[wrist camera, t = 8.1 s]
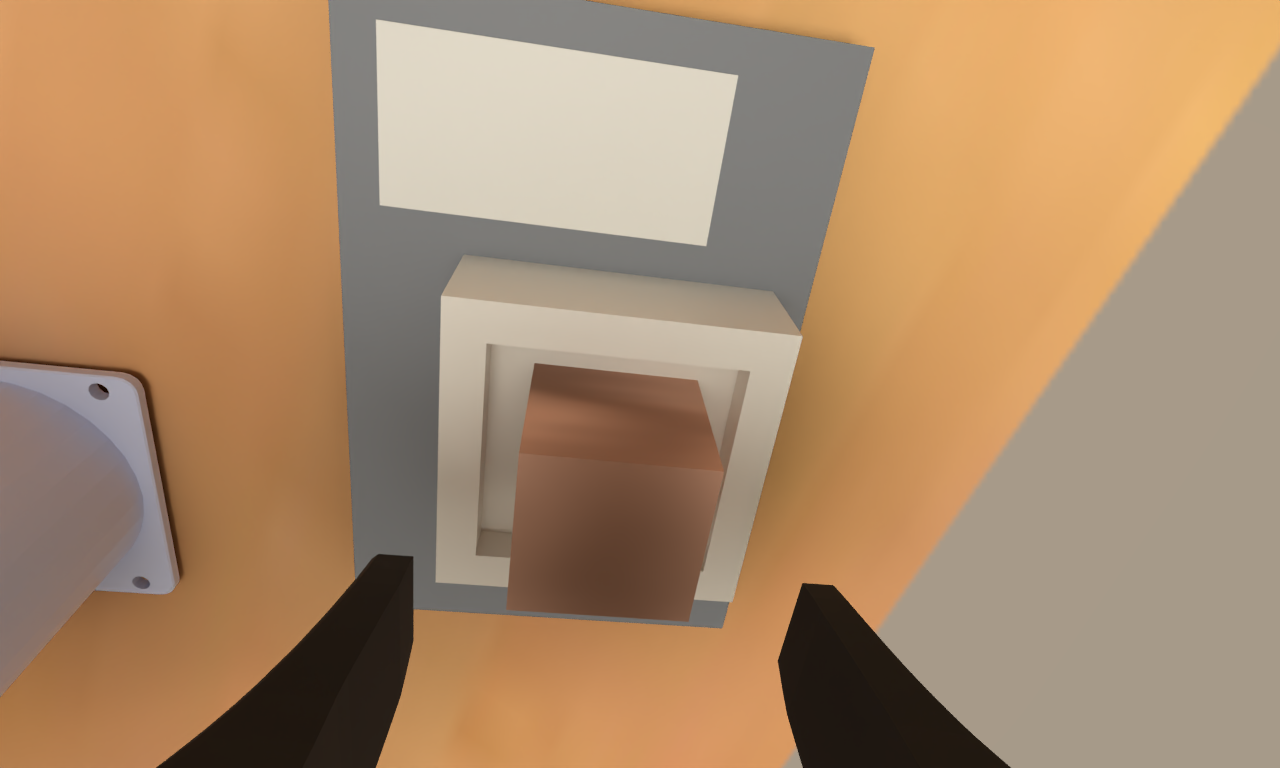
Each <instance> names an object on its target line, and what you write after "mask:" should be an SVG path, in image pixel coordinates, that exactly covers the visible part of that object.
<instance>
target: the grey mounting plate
mask: <svg viewBox="0 0 1280 768" xmlns="http://www.w3.org/2000/svg"><path fill="white" fill-rule="evenodd" d="M328 1H329V23H330V44H331V66H332V88H333V109H334V131H335V152H336V174H337V196H338V217H339V239H340V260H341V282H342V304H343V325H344V347H345V368H346V390H347V412H348V433H349V455H350V476H351V498H352V520H353V541H354V563H355V579H356V578H357V577H358V576H359V574H360V573H361V572H362V571H363V569H364V568H365V567H366V565H367V564H368V563H369V562H370V560H371V559H372V558H373V557H375V556H376V555H377V554H387V555H402V556H413V609H420V610H436V611H452V612H468V613H484V614H500V615H516V616H532V617H548V618H564V619H580V620H596V621H613V622H629V623H645V624H661V625H677V626H693V627H709V628H722V627H723V623H724V620H725V616H726V612H727V608H728V604H729V602H722V601H707V600H694V601H693V605H692V609H691V614H690V618H689V622H684V621H668V620H653V619H637V618H622V617H606V616H591V615H576V614H560V613H545V612H529V611H514V610H506V604H507V592H508V587H497V586H482V585H467V584H452V583H437V582H436V532H437V480H438V428H439V375H440V323H441V295H442V293H443V291H444V289H445V288H446V286H447V284H448V282H449V280H450V279H451V277H452V275H453V273H454V271H455V270H456V268H457V266H458V264H459V262H460V261H461V259H462V257H463V255H472V256H481V257H489V258H497V259H506V260H514V261H522V262H531V263H539V264H548V265H556V266H564V267H573V268H581V269H589V270H598V271H606V272H615V273H623V274H631V275H640V276H648V277H656V278H665V279H673V280H682V281H690V282H698V283H707V284H715V285H724V286H732V287H740V288H749V289H757V290H765V291H773V292H774V294H775V295H776V297H777V298H778V300H779V301H780V303H781V304H782V306H783V307H784V309H785V310H786V312H787V313H788V315H789V316H790V318H791V319H792V321H793V322H794V324H795V325H796V327H797V328H798V330H799V331H800V330H801V326H802V323H803V319H804V315H805V311H806V307H807V304H808V300H809V296H810V292H811V288H812V285H813V281H814V277H815V273H816V269H817V266H818V262H819V258H820V254H821V250H822V246H823V243H824V239H825V235H826V231H827V227H828V224H829V220H830V216H831V212H832V208H833V205H834V201H835V197H836V193H837V189H838V186H839V182H840V178H841V174H842V170H843V167H844V163H845V159H846V155H847V151H848V147H849V144H850V140H851V136H852V132H853V128H854V125H855V121H856V117H857V113H858V109H859V106H860V102H861V98H862V94H863V90H864V87H865V83H866V79H867V75H868V71H869V68H870V64H871V60H872V56H873V52H874V47H867V46H861V45H855V44H849V43H843V42H837V41H831V40H824V39H818V38H812V37H806V36H800V35H794V34H788V33H782V32H775V31H769V30H763V29H757V28H751V27H745V26H739V25H732V24H726V23H720V22H714V21H708V20H702V19H696V18H690V17H683V16H677V15H671V14H665V13H659V12H653V11H647V10H640V9H634V8H628V7H622V6H616V5H610V4H604V3H598V2H591V1H585V0H328Z"/></svg>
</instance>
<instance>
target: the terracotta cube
mask: <svg viewBox="0 0 1280 768" xmlns="http://www.w3.org/2000/svg"><path fill="white" fill-rule="evenodd" d="M723 474H724V470H723V466H722V463H721V459H720V456H719V452H718V449H717V446H716V442H715V439H714V435H713V432H712V428H711V425H710V421H709V418H708V414H707V411H706V407H705V404H704V401H703V397H702V394H701V390H700V387H699V383H698V380H691V379H681V378H672V377H662V376H653V375H643V374H634V373H624V372H615V371H605V370H596V369H586V368H577V367H567V366H558V365H548V364H539V363H534V369H533V374H532V380H531V386H530V392H529V397H528V403H527V409H526V415H525V420H524V426H523V432H522V438H521V444H520V449H519V457H518V470H517V482H516V494H515V506H514V519H513V531H512V543H511V555H510V568H509V580H508V592H507V604H506V610H514V611H529V612H545V613H560V614H576V615H591V616H606V617H622V618H637V619H653V620H668V621H684V622H689V618H690V614H691V609H692V605H693V601H694V597H695V593H696V588H697V584H698V580H699V576H700V571H701V567H702V563H703V559H704V554H705V550H706V546H707V542H708V538H709V533H710V529H711V525H712V521H713V516H714V512H715V508H716V504H717V499H718V495H719V491H720V487H721V482H722V478H723Z"/></svg>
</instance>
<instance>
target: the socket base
mask: <svg viewBox="0 0 1280 768" xmlns="http://www.w3.org/2000/svg"><path fill="white" fill-rule="evenodd" d="M802 338H803V336H802V334H801V333H800V331H799V330H798V328H797V327H796V325H795V324H794V322H793V321H792V319H791V318H790V316H789V315H788V313H787V312H786V310H785V309H784V307H783V306H782V304H781V303H780V301H779V300H778V298H777V297H776V295H775V294H774V292H773V291H765V290H757V289H749V288H740V287H732V286H724V285H715V284H707V283H698V282H690V281H682V280H673V279H665V278H656V277H648V276H640V275H631V274H623V273H615V272H606V271H598V270H589V269H581V268H573V267H564V266H556V265H548V264H539V263H531V262H522V261H514V260H506V259H497V258H489V257H481V256H472V255H463V257H462V259H461V261H460V262H459V264H458V266H457V268H456V270H455V271H454V273H453V275H452V277H451V279H450V280H449V282H448V284H447V286H446V288H445V289H444V291H443V293H442V295H441V323H440V375H439V428H438V480H437V532H436V582H437V583H452V584H467V585H482V586H497V587H508V580H509V568H510V555H511V543H512V531H513V519H514V506H515V494H516V482H517V470H518V457H519V449H520V444H521V438H522V432H523V426H524V420H525V415H526V409H527V403H528V397H529V392H530V386H531V380H532V374H533V369H534V363H539V364H548V365H558V366H567V367H577V368H586V369H596V370H605V371H615V372H624V373H634V374H643V375H653V376H662V377H672V378H681V379H691V380H698V383H699V387H700V390H701V394H702V397H703V401H704V404H705V407H706V411H707V414H708V418H709V421H710V425H711V428H712V432H713V435H714V439H715V442H716V446H717V449H718V452H719V456H720V459H721V463H722V466H723V470H724V474H723V478H722V482H721V487H720V491H719V495H718V499H717V504H716V508H715V512H714V516H713V521H712V525H711V529H710V533H709V538H708V542H707V546H706V550H705V554H704V559H703V563H702V567H701V571H700V576H699V580H698V584H697V588H696V593H695V597H694V600H707V601H722V602H732V601H733V598H734V594H735V590H736V586H737V583H738V579H739V575H740V571H741V568H742V564H743V560H744V556H745V552H746V549H747V545H748V541H749V537H750V534H751V530H752V526H753V522H754V519H755V515H756V511H757V507H758V503H759V500H760V496H761V492H762V488H763V485H764V481H765V477H766V473H767V470H768V466H769V462H770V458H771V454H772V451H773V447H774V443H775V439H776V436H777V432H778V428H779V424H780V421H781V417H782V413H783V409H784V405H785V402H786V398H787V394H788V390H789V387H790V383H791V379H792V375H793V372H794V368H795V364H796V360H797V356H798V353H799V349H800V345H801V341H802Z"/></svg>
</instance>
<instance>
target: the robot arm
mask: <svg viewBox="0 0 1280 768" xmlns="http://www.w3.org/2000/svg"><path fill="white" fill-rule="evenodd" d="M97 383H98V384H101V385H103V386H104V387H106V388H107V390H108V391H109V393H105V392H103V391H102V390H101V389H99V387H98V385H97ZM142 577H144V578H146V579H147V580H145V579H143V578H142ZM179 578H180V577H179V572H178V566H177V561H176V556H175V550H174V545H173V540H172V535H171V529H170V524H169V519H168V513H167V508H166V503H165V498H164V492H163V487H162V482H161V476H160V471H159V466H158V460H157V455H156V450H155V445H154V439H153V434H152V429H151V423H150V418H149V413H148V408H147V402H146V397H145V392H144V388H143V386H142V384H141V382H140V381H139V380H138V379H137V378H135V377H134V376H132V375H130V374H127V373H123V372H115V371H104V370H94V369H83V368H73V367H62V366H52V365H41V364H31V363H20V362H10V361H0V697H1V696H2V695H3V693H4V692H5V691H6V690H7V689H8V688H9V687H10V685H11V684H12V683H13V682H14V681H15V680H16V679H17V678H18V676H19V675H20V674H21V673H22V672H23V671H24V670H25V668H26V667H27V666H28V665H29V664H30V663H31V662H32V660H33V659H34V658H35V657H36V656H37V655H38V654H39V652H40V651H41V650H42V649H43V648H44V647H45V646H46V644H47V643H48V642H49V641H50V640H51V639H52V638H53V637H54V635H55V634H56V633H57V632H58V631H59V630H60V629H61V627H62V626H63V625H64V624H65V623H66V622H67V621H68V619H69V618H70V617H71V616H72V615H73V614H74V613H75V611H76V610H77V609H78V608H79V607H80V606H81V605H82V603H83V602H84V601H85V600H86V599H87V598H88V597H89V596H90V594H91V593H92V592H93V591H94V590H98V591H114V592H130V593H146V594H168V593H170V592H172V591H173V589H174V588H175V587H176V585H177V584H178V583H179ZM412 644H413V556H402V555H387V554H377V555H376V556H375V557H373V558H372V559H371V560H370V562H369V563H368V564H367V565H366V567H365V568H364V569H363V571H362V572H361V573H360V574H359V576H358V577H357V578H356V579H355V581H354V582H353V583H352V584H351V585H350V587H349V588H348V589H347V590H346V591H345V593H344V594H343V595H342V596H341V597H340V598H339V599H338V601H337V602H336V603H335V604H334V605H333V606H332V608H331V609H330V610H329V611H328V612H327V613H326V614H325V615H324V616H323V617H322V619H321V620H320V621H319V622H318V623H317V624H316V625H315V626H314V627H313V628H312V629H311V630H310V632H309V633H308V634H307V635H306V636H305V637H304V638H303V639H302V640H301V641H300V642H299V643H298V644H297V645H296V646H295V647H294V649H293V650H291V651H290V652H289V653H288V654H287V655H286V656H285V657H284V658H283V659H282V660H281V661H280V662H279V663H278V664H277V665H276V666H275V667H274V668H273V669H272V670H271V671H270V672H269V673H268V674H267V675H266V676H265V677H264V678H263V679H262V680H261V681H260V682H259V683H258V684H257V685H256V686H254V687H253V688H252V689H251V690H250V691H249V692H248V693H247V694H246V695H245V696H243V697H242V698H241V699H240V700H239V701H238V702H237V703H236V704H234V705H233V706H232V707H231V708H230V709H229V710H228V711H226V712H225V713H224V714H223V715H222V716H221V717H219V718H218V719H217V720H216V721H215V722H213V723H212V724H211V725H210V726H209V727H208V728H206V729H205V730H204V731H203V732H201V733H200V734H199V735H198V736H196V737H195V738H194V739H193V740H191V741H190V742H189V743H187V744H186V745H185V746H184V747H182V748H181V749H180V750H178V751H177V752H176V753H175V754H173V755H172V756H171V757H170V758H168V759H167V760H166V761H164V762H163V763H162V764H160V765H159V766H158V767H156V768H376V765H377V763H378V760H379V757H380V754H381V751H382V748H383V745H384V743H385V740H386V737H387V734H388V731H389V728H390V725H391V722H392V720H393V717H394V714H395V711H396V708H397V705H398V702H399V699H400V696H401V692H402V688H403V684H404V679H405V675H406V671H407V666H408V662H409V658H410V653H411V649H412ZM778 664H779V670H780V677H781V683H782V689H783V695H784V700H785V705H786V711H787V715H788V719H789V722H790V726H791V729H792V733H793V736H794V739H795V743H796V746H797V749H798V753H799V756H800V759H801V763H802V766H803V768H1010V767H1009V766H1008V765H1007V764H1006V763H1005V762H1004V761H1002V760H1001V759H1000V758H999V757H998V756H997V755H995V754H994V753H993V752H992V751H991V750H990V749H989V748H988V747H986V746H985V745H984V744H983V743H982V742H981V741H980V740H978V739H977V738H976V737H975V736H974V735H973V734H972V733H971V732H970V731H968V729H966V728H965V727H964V726H963V725H962V724H961V723H960V722H959V721H958V720H957V719H956V718H955V717H954V716H953V715H952V714H951V713H950V712H949V711H948V710H946V708H945V707H944V706H943V705H942V704H941V703H940V702H939V701H938V700H937V699H936V698H935V697H934V696H933V695H932V694H931V693H930V692H929V691H928V690H927V689H926V688H925V687H924V686H923V685H922V684H921V683H920V682H919V681H918V680H917V679H916V678H915V677H914V675H913V674H912V673H911V672H910V671H909V670H908V669H907V668H906V667H905V666H904V665H903V664H902V662H901V661H900V660H899V659H898V658H897V657H896V656H895V655H894V654H893V653H892V651H891V650H890V649H889V648H888V647H887V646H886V645H885V644H884V643H883V642H882V640H881V639H880V638H879V637H878V636H877V634H876V633H875V632H874V631H873V630H872V629H871V628H870V626H869V625H868V624H867V623H866V622H865V621H864V620H863V618H862V617H861V616H860V615H859V614H858V613H857V611H856V610H855V609H854V608H853V607H852V606H851V605H850V603H849V602H848V601H847V600H846V599H845V598H844V597H843V595H842V594H841V593H840V592H839V591H838V590H837V589H836V588H835V587H834V586H833V585H821V584H807V583H802V587H801V590H800V593H799V596H798V599H797V602H796V605H795V609H794V612H793V615H792V618H791V621H790V624H789V627H788V631H787V634H786V637H785V640H784V643H783V646H782V649H781V653H780V656H779V659H778Z"/></svg>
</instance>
